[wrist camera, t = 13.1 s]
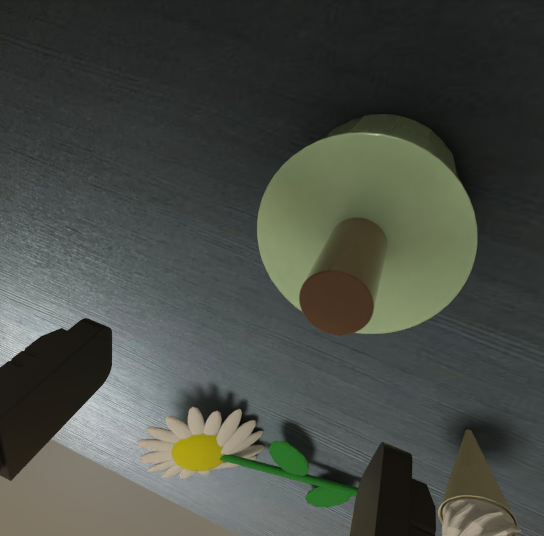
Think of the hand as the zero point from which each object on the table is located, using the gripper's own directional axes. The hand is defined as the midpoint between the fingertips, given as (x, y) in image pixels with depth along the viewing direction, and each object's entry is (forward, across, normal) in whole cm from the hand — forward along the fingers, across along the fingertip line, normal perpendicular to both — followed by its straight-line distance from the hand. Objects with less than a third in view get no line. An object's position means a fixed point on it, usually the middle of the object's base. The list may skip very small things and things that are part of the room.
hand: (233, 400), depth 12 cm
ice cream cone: (+21, -16, +18) cm, 32 cm away
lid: (+13, -2, 0) cm, 13 cm away
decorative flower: (+22, -3, +30) cm, 37 cm away
